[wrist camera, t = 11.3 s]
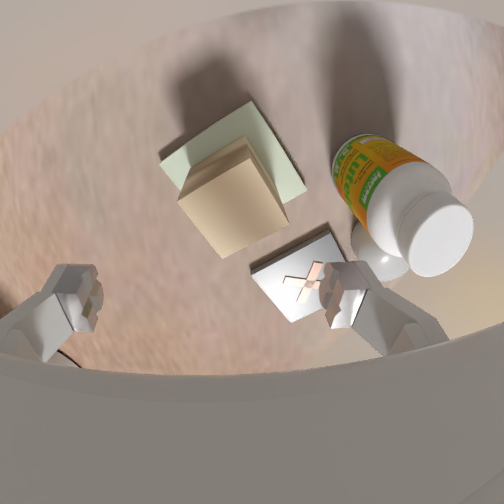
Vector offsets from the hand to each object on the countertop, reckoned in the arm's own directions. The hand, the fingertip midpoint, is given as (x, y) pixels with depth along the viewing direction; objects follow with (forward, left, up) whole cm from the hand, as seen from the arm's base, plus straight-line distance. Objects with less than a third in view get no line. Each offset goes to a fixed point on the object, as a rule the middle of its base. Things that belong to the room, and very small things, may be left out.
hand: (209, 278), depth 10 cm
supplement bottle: (+9, -5, -11) cm, 15 cm away
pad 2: (+1, -12, -11) cm, 16 cm away
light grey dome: (+8, -11, -11) cm, 17 cm away
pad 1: (+1, -1, -11) cm, 11 cm away
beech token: (+1, -1, -10) cm, 10 cm away
